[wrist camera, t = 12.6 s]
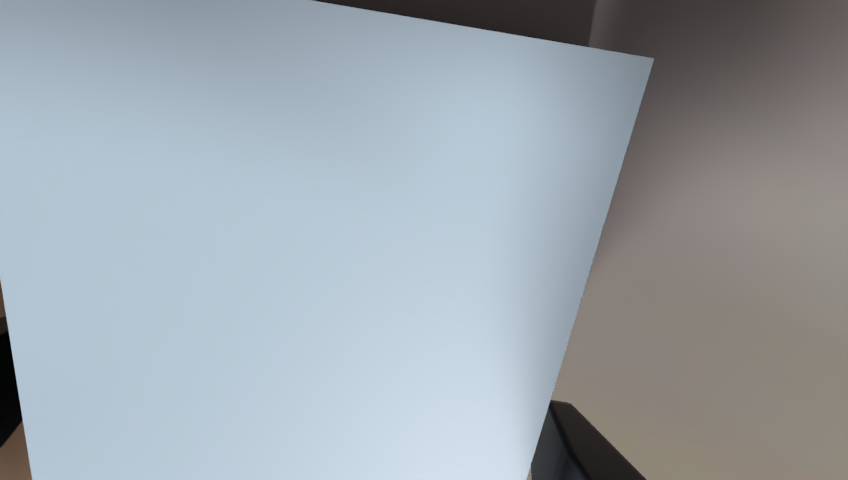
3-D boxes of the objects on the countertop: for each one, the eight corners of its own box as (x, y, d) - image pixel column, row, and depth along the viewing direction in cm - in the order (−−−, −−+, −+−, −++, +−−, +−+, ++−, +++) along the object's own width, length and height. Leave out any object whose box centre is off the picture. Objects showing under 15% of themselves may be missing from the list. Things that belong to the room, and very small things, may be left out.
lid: (457, 574, 11) (456, 711, 9) (140, 517, 11) (57, 639, 9) (592, 56, 7) (654, 58, 5) (108, -27, 7) (-54, -62, 5)
